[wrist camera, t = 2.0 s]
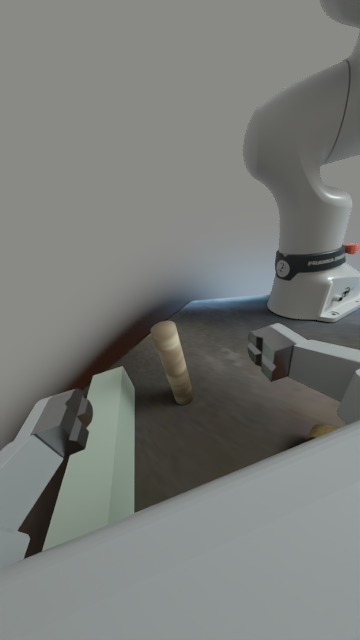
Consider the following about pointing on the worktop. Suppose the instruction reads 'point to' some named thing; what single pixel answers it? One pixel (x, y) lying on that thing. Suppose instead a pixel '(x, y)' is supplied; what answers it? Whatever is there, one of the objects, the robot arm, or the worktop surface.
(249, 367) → the worktop surface
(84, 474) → the pale mint rectangular block
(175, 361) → the dowel
